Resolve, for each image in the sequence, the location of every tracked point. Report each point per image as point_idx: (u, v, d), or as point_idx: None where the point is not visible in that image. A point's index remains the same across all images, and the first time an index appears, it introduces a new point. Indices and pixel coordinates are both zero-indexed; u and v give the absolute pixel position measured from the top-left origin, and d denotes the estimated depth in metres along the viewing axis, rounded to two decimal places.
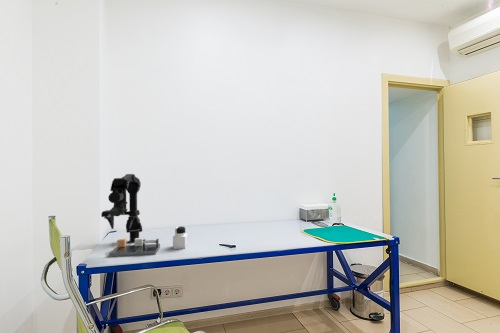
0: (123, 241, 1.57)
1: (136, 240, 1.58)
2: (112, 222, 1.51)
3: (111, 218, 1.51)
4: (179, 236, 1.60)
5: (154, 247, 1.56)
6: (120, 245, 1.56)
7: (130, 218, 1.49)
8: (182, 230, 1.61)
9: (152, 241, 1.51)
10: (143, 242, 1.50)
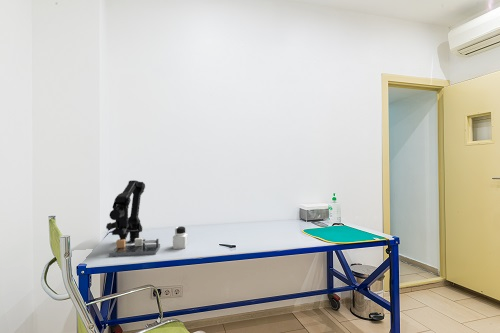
0: (122, 242, 1.55)
1: (136, 240, 1.58)
2: None
3: None
4: (179, 236, 1.60)
5: (154, 247, 1.56)
6: (119, 246, 1.55)
7: None
8: (182, 230, 1.61)
9: (152, 241, 1.51)
10: (143, 242, 1.50)
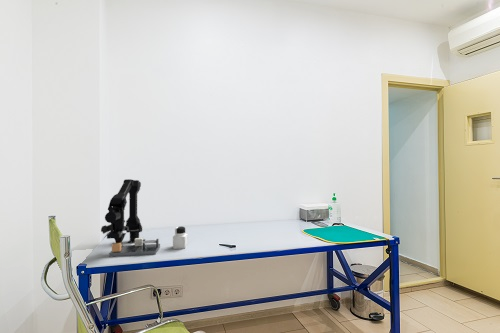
0: (118, 245, 1.48)
1: (136, 240, 1.58)
2: None
3: None
4: (179, 236, 1.60)
5: (154, 247, 1.56)
6: (115, 250, 1.48)
7: None
8: (182, 230, 1.61)
9: (152, 241, 1.51)
10: (143, 242, 1.50)
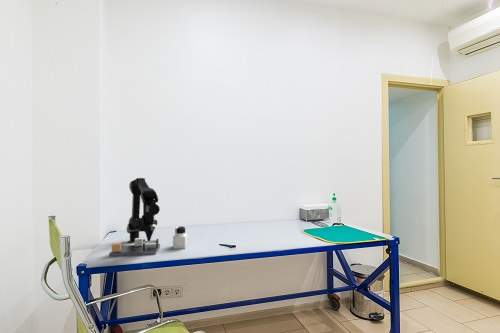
0: (118, 245, 1.48)
1: (136, 240, 1.58)
2: None
3: None
4: (179, 236, 1.60)
5: (154, 247, 1.56)
6: (115, 250, 1.48)
7: None
8: (182, 230, 1.61)
9: (152, 241, 1.51)
10: (143, 242, 1.50)
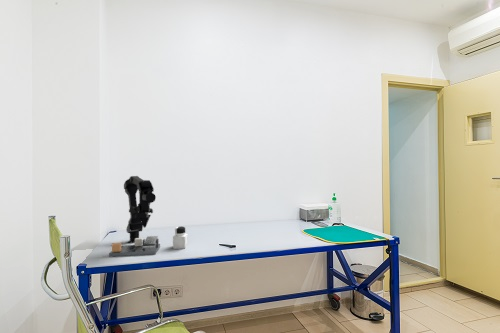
0: (118, 245, 1.48)
1: (136, 240, 1.58)
2: None
3: None
4: (179, 236, 1.60)
5: (154, 247, 1.56)
6: (115, 250, 1.48)
7: None
8: (182, 230, 1.61)
9: (152, 246, 1.51)
10: (143, 247, 1.50)
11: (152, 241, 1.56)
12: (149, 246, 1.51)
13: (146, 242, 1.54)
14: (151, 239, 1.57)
